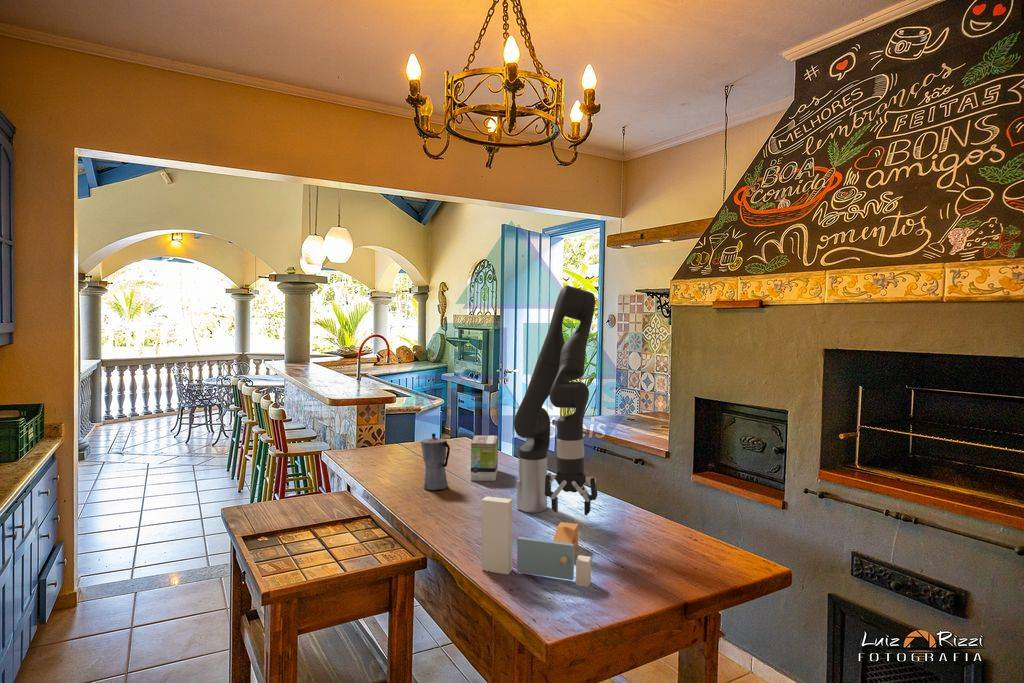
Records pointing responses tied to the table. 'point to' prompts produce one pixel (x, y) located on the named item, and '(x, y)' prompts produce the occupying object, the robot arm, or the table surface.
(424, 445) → the moka pot
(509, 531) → the door frame
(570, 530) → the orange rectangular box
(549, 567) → the door
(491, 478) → the tea box
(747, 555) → the table surface
